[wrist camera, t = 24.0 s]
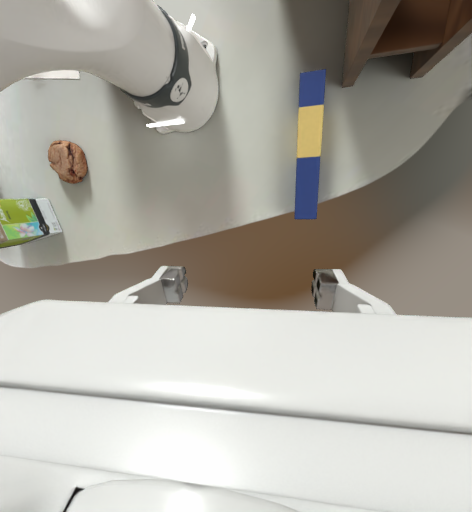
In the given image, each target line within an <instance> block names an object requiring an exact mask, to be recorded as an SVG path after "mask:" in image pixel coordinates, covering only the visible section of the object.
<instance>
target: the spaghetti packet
mask: <svg viewBox="0 0 472 512" xmlns="http://www.w3.org/2000/svg"><path fill="white" fill-rule="evenodd" d="M325 77H326V69H323V70H317V71H310V72H304V73H300V88H299V111H298V136H297V167H296V194H295V219H316V217H317V201H318V186H319V170H320V156H321V142H322V127H323V111H324V92H325Z"/></svg>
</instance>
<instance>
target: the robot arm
mask: <svg viewBox="0 0 472 512" xmlns="http://www.w3.org/2000/svg"><path fill="white" fill-rule="evenodd" d="M194 21H195V16H194V14H192V16H191V18H190V21H189V23H188V26H187V27H186V26H184V25H183V24H181V23H180V22H178V21H177V20H175V19H174V18H172V17H170V16H169V15H168V14H167V13H166V12H165V11H164V10H163V9H162V8H161V7H160V6H158V5H156V4H155V2H154V1H153V0H0V92H1V91H2V90H4V89H5V88H7V87H8V86H10V85H11V84H13V83H15V82H17V81H19V80H21V79H23V78H26V77H29V76H32V75H35V74H39V73H43V72H50V71H59V70H76V71H83V72H88V73H91V74H93V75H95V76H98V77H100V78H102V79H104V80H106V81H108V82H110V83H112V84H114V85H116V86H118V87H119V88H120V89H121V90H122V91H123V92H124V93H125V94H126V95H127V96H128V97H129V98H131V99H133V100H134V105H135V106H136V107H137V108H138V109H140V108H141V110H142V113H143V114H144V115H145V116H146V117H148V118H149V119H150V121H151V122H152V124H146V126H148V127H155V128H156V130H157V131H158V132H159V133H161V134H167V133H170V132H173V131H178V132H191V131H194V130H197V129H199V128H200V127H202V126H203V125H204V124H205V123H206V122H207V121H208V120H209V119H210V117H211V116H212V114H213V112H214V110H215V107H216V104H217V100H218V93H219V86H218V78H217V74H216V60H217V50H216V47H215V46H214V45H213V44H212V43H211V42H209V41H208V40H206V39H205V38H203V37H202V36H200V35H198V34H197V33H195V32H194V31H192V30H191V28H192V25H193V23H194ZM204 47H206V49H205V48H204ZM185 274H186V270H185V267H180V266H161V267H160V268H159V269H158V271H157V272H156V273H155V274H154V275H153V277H152V278H151V279H147V280H145V281H143V282H141V283H139V284H136V285H134V286H132V287H130V288H128V289H126V290H124V291H121V292H119V293H117V294H115V295H114V296H113V297H112V298H111V299H110V301H109V302H107V303H106V302H85V301H62V300H40V301H37V302H34V303H30V304H27V305H24V306H22V307H19V308H16V309H13V310H10V311H8V312H5V313H3V314H0V512H472V318H461V317H436V316H414V315H396V314H395V312H394V311H393V309H392V308H391V307H390V306H389V304H387V303H385V302H383V301H381V300H380V299H378V298H376V297H374V296H372V295H371V294H369V293H367V292H365V291H363V290H362V289H360V288H358V287H356V286H354V285H352V284H349V282H348V281H347V279H346V277H345V275H344V274H343V272H342V270H341V269H315V270H314V272H313V277H314V280H313V281H312V295H313V297H314V298H315V300H314V302H315V306H316V309H324V310H325V309H326V310H332V311H333V312H320V311H296V310H273V309H249V308H225V307H202V306H178V305H166V304H167V303H180V302H181V300H182V298H183V293H185V292H186V290H187V286H188V280H187V278H186V277H185V276H184V275H185Z"/></svg>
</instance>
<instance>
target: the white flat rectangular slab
mask: <svg viewBox="0 0 472 512" xmlns="http://www.w3.org/2000/svg"><path fill="white" fill-rule="evenodd" d="M26 78H59V79H80V78H79V71H76V70H59V71H50V72H43V73H39V74H35V75H32V76H29V77H26Z"/></svg>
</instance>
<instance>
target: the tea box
mask: <svg viewBox="0 0 472 512" xmlns="http://www.w3.org/2000/svg"><path fill="white" fill-rule="evenodd" d="M61 232H62V230H61V227H60V224H59V222H58V220H57V217H56V215H55V213H54V210H53V208H52V206H51V204H50V201H49V199H0V248H5V247H11V246H16V245H22V244H27V243H30V242H33V241H37V240H40V239H43V238H46V237H49V236H52V235H55V234H58V233H61Z"/></svg>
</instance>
